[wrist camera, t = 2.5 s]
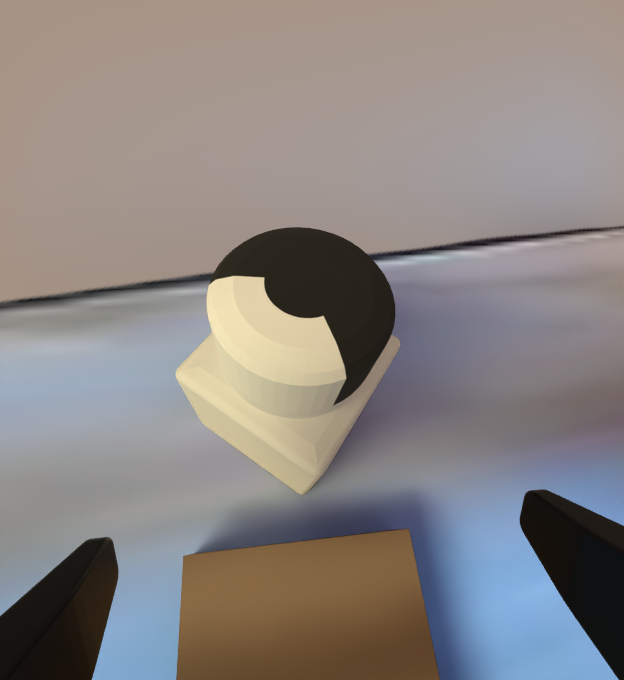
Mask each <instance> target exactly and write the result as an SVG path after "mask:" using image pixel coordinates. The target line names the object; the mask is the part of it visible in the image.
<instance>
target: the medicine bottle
mask: <svg viewBox="0 0 624 680" xmlns="http://www.w3.org/2000/svg"><path fill="white" fill-rule="evenodd" d="M207 312H208V318H209V322H210V326H211V330H212V333H211V334H210V335H209V336H208V337H207V338H206V339H205V340H204V341H203V342H202V343H201V344H200V345H199V347H198V348H197V349H196V350H195V351H194V352H193V353H192V354H191V355H190V356H189V357H188V358H187V359H186V360H185V361H184V362H183V363H182V364H181V365H180V366H179V367H178V369H177V370H176V378H177V380H178V382H179V384H180V385H181V387H182V389H183V391H184V392H185V394H186V396H187V397H188V399H189V401H190V403H191V404H192V406H193V408H194V410H195V411H196V413H197V415H198V416H199V418H200V420H201V422H202V423H203V424H204V425H205V426H206V427H208V428H209V429H211V430H212V431H213V432H215V433H216V434H217V435H219V436H220V437H222V438H223V439H224V440H226V441H227V442H228V443H230V444H231V445H233V446H234V447H235V448H237V449H238V450H239V451H241V452H242V453H244V454H245V455H246V456H248V457H249V458H250V459H252V460H253V461H255V462H256V463H257V464H259V465H260V466H261V467H263V468H264V469H265V470H267V471H268V472H270V473H271V474H272V475H274V476H275V477H276V478H278V479H279V480H281V481H282V482H283V483H285V484H286V485H287V486H289V487H290V488H292V489H293V490H294V491H296V492H297V493H299V494H301V495H303V494H306V493H307V492H308V491H309V490H310V489H311V488H312V486H313V485H314V484H315V483H316V482H317V481H318V480H319V479H320V477H321V476H322V475H323V474H324V473H325V472H326V470H327V468H328V467H329V465H330V463H331V462H332V460H333V458H334V457H335V455H336V453H337V452H338V450H339V448H340V447H341V445H342V443H343V442H344V440H345V438H346V437H347V435H348V433H349V432H350V430H351V428H352V427H353V425H354V423H355V422H356V420H357V418H358V417H359V415H360V413H361V412H362V410H363V409H364V407H365V405H366V404H367V402H368V400H369V399H370V397H371V395H372V394H373V392H374V390H375V389H376V387H377V385H378V384H379V382H380V380H381V379H382V377H383V375H384V374H385V372H386V370H387V369H388V367H389V365H390V364H391V362H392V360H393V359H394V357H395V355H396V354H397V352H398V350H399V349H400V344H401V343H400V340H399V339H398V338H397V337H395V336H393V335H392V331H393V327H394V322H395V303H394V297H393V293H392V290H391V288H390V285H389V283H388V281H387V279H386V277H385V275H384V274H383V272H382V271H381V270H380V268H379V267H378V266H377V264H376V263H375V262H374V261H373V260H372V259H371V258H370V257H369V256H368V255H367V254H366V253H365V252H364V251H363V250H361V249H360V248H359V247H357V246H356V245H354V244H353V243H351V242H350V241H348V240H346V239H344V238H342V237H340V236H337V235H335V234H332V233H329V232H325V231H322V230H317V229H311V228H300V227H298V228H297V227H295V228H283V229H276V230H272V231H268V232H264V233H262V234H259V235H256V236H254V237H252V238H251V239H249V240H247V241H245V242H243V243H242V244H241V245H239V246H238V247H236V248H235V249H233V250H232V251H231V252H230V253H229V254H228V255H227V256H226V257H225V258H224V259H223V261H222V262H221V263H220V264H219V265H218V267H217V269H216V270H215V272H214V274H213V276H212V279H211V281H210V284H209V288H208V293H207Z"/></svg>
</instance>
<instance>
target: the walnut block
mask: <svg viewBox="0 0 624 680" xmlns="http://www.w3.org/2000/svg"><path fill="white" fill-rule="evenodd" d="M176 680H440V678H439V673H438V668H437V663H436V658H435V654H434V649H433V644H432V639H431V634H430V629H429V624H428V619H427V615H426V610H425V605H424V600H423V595H422V590H421V585H420V580H419V575H418V571H417V566H416V561H415V556H414V551H413V546H412V541H411V536H410V532H409V529H397V530H386V531H378V532H370V533H361V534H353V535H345V536H337V537H328V538H320V539H312V540H303V541H295V542H287V543H278V544H270V545H262V546H254V547H245V548H237V549H229V550H220V551H212V552H204V553H195V554H190V555H186V556H183V573H182V591H181V608H180V626H179V644H178V661H177V679H176Z"/></svg>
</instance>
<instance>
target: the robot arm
mask: <svg viewBox="0 0 624 680" xmlns="http://www.w3.org/2000/svg"><path fill="white" fill-rule="evenodd" d="M520 525H521V528H522V531H523V533H524V534H525V536H526V538H527V539H528V541H529V543H530V545H531V546H532V548H533V550H534V551H535V553H536V555H537V556H538V558H539V560H540V561H541V563H542V565H543V567H544V568H545V570H546V572H547V573H548V575H549V577H550V578H551V580H552V582H553V584H554V585H555V587H556V589H557V590H558V592H559V593H560V595H561V597H562V598H563V600H564V601H565V603H566V604H567V606H568V607H569V609H570V610H571V612H572V613H573V615H574V616H575V618H576V619H577V621H578V622H579V623H580V625H581V626H582V628H583V629H584V631H585V632H586V633H587V635H588V636H589V638H590V639H591V641H592V642H593V643H594V645H595V646H596V648H597V649H598V651H599V652H600V653H601V655H602V656H603V658H604V659H605V661H606V662H607V663H608V665H609V666H610V668H611V669H612V671H613V672H614V674H615V675H616V676H617V678H618V679H619V680H624V526H623V525H620V524H618V523H616V522H614V521H612V520H610V519H608V518H605V517H603V516H601V515H599V514H597V513H595V512H593V511H591V510H588V509H586V508H584V507H582V506H580V505H578V504H576V503H573V502H571V501H569V500H567V499H565V498H563V497H561V496H559V495H556V494H554V493H552V492H550V491H548V490H544V489H540V490H531V491H528V492H527V493H526V494H525V496H524V501H523V505H522V510H521V515H520ZM117 581H118V564H117V559H116V554H115V549H114V544H113V541H112V539H111V538H109V537H103V538H94V539H89V540H87V541H85V542H84V543H83V544H82V545H80V546H79V547H78V548H77V549H76V550H75V551H74V552H72V553H71V554H70V555H69V556H68V557H67V558H66V559H65V560H63V561H62V562H61V563H60V564H59V565H58V566H57V567H55V568H54V569H53V570H52V571H51V572H50V573H49V574H48V575H46V576H45V577H44V578H43V579H42V580H41V581H40V582H38V583H37V584H36V585H35V586H34V587H33V588H32V589H31V590H29V591H28V592H27V593H26V594H25V595H24V596H23V597H21V598H20V599H19V600H18V601H17V602H16V603H15V604H14V605H12V606H11V607H10V608H9V609H8V610H7V611H6V612H4V613H3V614H2V615H1V616H0V680H92V677H93V673H94V670H95V666H96V662H97V659H98V655H99V651H100V647H101V643H102V639H103V635H104V632H105V628H106V624H107V620H108V616H109V612H110V608H111V605H112V601H113V597H114V593H115V589H116V585H117Z"/></svg>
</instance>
